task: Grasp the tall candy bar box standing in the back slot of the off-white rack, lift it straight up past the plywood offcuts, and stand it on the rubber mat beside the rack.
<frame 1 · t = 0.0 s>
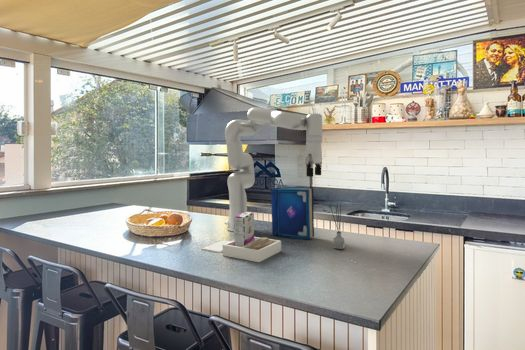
hand: (314, 175, 172), 31 cm above the worktop, tool pointing down, fingers open, 9 cm apart
candy bar box: (244, 252, 154), resting in rack
mat: (221, 246, 162), on the worktop
book: (291, 237, 180), on the worktop
rack: (255, 253, 152), on the worktop
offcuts: (261, 255, 150), resting in rack
reed diffuser: (337, 248, 159), on the worktop
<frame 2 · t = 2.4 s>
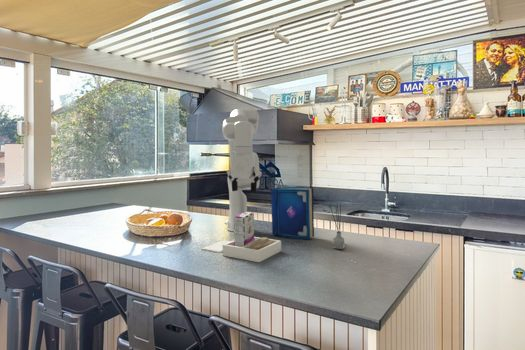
hand: (244, 191, 152), 26 cm above the worktop, tool pointing down, fingers open, 9 cm apart
nothing on the worktop moved.
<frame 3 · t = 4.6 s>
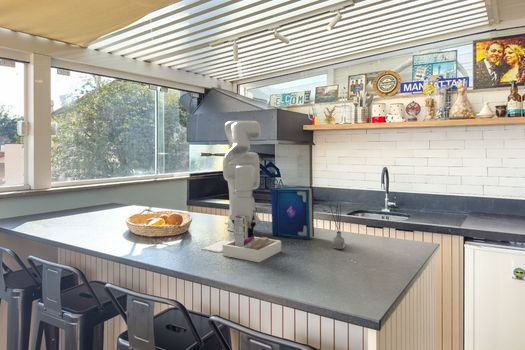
hand: (244, 235, 154), 7 cm above the worktop, tool pointing down, fingers closed on candy bar box, 5 cm apart
candy bar box: (244, 252, 154), resting in rack, touching gripper
everything else where it was.
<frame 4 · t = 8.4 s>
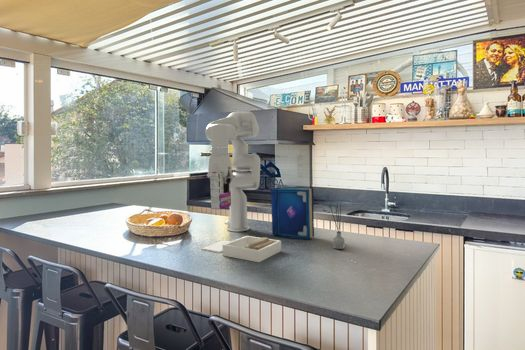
hand: (220, 191, 161), 25 cm above the worktop, tool pointing down, fingers closed on candy bar box, 5 cm apart
candy bar box: (220, 207, 161), point 18 cm above the worktop, touching gripper
everything else where it was.
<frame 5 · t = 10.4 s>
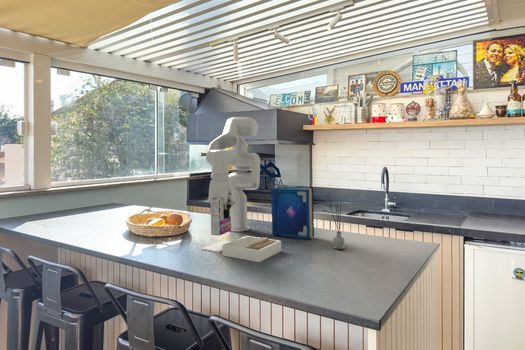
hand: (220, 217, 161), 14 cm above the worktop, tool pointing down, fingers closed on candy bar box, 5 cm apart
candy bar box: (221, 233, 162), point 6 cm above the worktop, touching gripper
everything else where it was.
when the fingers open (9 cm above the worktop, at t = 12.2 s): candy bar box drops 1 cm, resting on mat.
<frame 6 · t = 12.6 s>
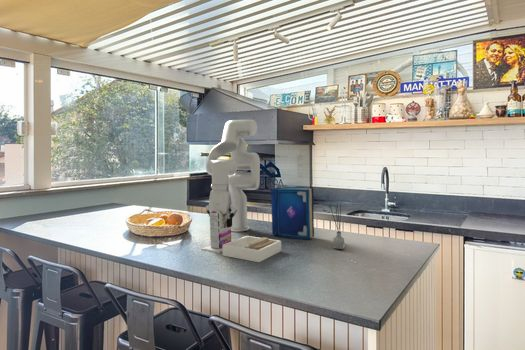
hand: (221, 225, 162), 10 cm above the worktop, tool pointing down, fingers open, 9 cm apart
candy bar box: (221, 245, 163), resting on mat
everything else where it was.
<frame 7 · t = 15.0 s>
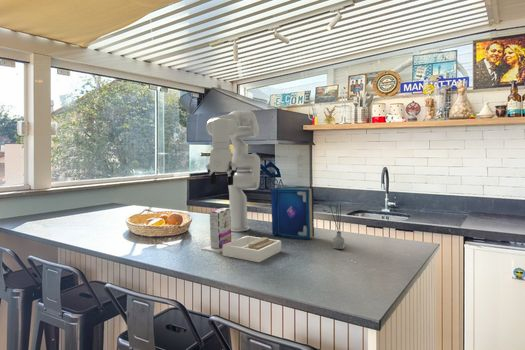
hand: (221, 184, 161), 28 cm above the worktop, tool pointing down, fingers open, 9 cm apart
nothing on the worktop moved.
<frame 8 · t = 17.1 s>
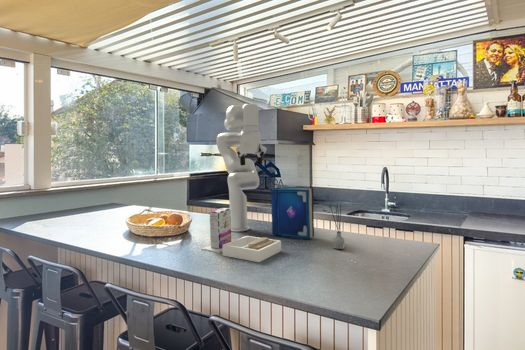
hand: (251, 165, 174), 36 cm above the worktop, tool pointing down, fingers open, 9 cm apart
nothing on the worktop moved.
at the end: candy bar box inside the target area on the mat (0.4 cm from its centre), point 0.4 cm above the mat's base; candy bar box tilted 0°; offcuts moved 0.2 cm from its start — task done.
